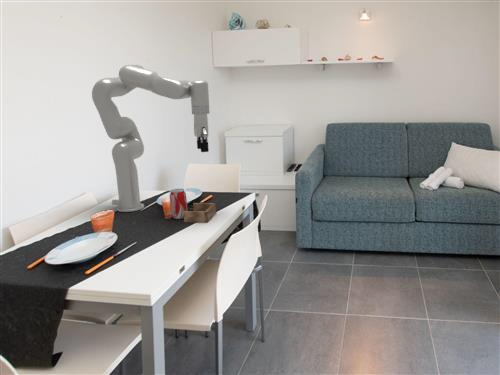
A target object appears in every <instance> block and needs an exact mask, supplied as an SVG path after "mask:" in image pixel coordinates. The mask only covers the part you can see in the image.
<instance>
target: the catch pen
mask: <svg viewBox="0 0 500 375" xmlns="http://www.w3.org/2000/svg"><path fill="white" fill-rule="evenodd" d="M192 205H193V208H192V209H193V210H190V211H189V210H187V211H184V218H183V220H184V221H183V222H184V223H198V224H199V223H209V221H210V220H211V219H212V218H213V217H214V216H216V214H217V203H216V202H215V203H213V202H209V203H207V202H193V204H192Z"/></svg>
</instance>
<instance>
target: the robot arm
mask: <svg viewBox="0 0 500 375" xmlns="http://www.w3.org/2000/svg"><path fill="white" fill-rule="evenodd" d="M118 71H119V72H118V76H117V77H103V78H101V79H99V80H97V81H96V82H95V84H94V85H93V86H92V91H91V97H92V101H93V105H94V106H95V108H96V110H97V112H98V115H99V118H100V119H101V122H102V125H103V128H104V129H105V132H106V134H107V136H108V138H110V139H111V140H120V139H121V141H119V142H117V143H115V144H114V145H113V147H112V149H111V156H112V160H113V164H114V169H115V175H116V176H115V177H116V184H117V195H118V199H112V200H111V204H112V206H113V205H116V211H118V212H122V213H130V212H137V211H140V210H143V209H144V208H145V204H144V203H141V194H140V185H139V174H138V168H137V164H136V163H135V161H134V160H137V159H139V158H141V157H142V156H143V154H144V153H145V152H144V151H145V145H144V142H143V140H142V138H141V135H140V132H139V130H138V127H137V125H136V124H135V122H134V120H133V119H132V118H130V117H128V116H121V114H120V112H119V109H118V107H117V105H116V103H115V102H114V101H113V100H112V98H117V97H123V96H125V95H127V94H129V93H130V92H132V91H133V90H135V89H136V88H139V89H142V90H145V91H149V92H151V93H153V94H154V95H157V96H161V97H164V98H168V99H172V100H184V99H190V102H191V103H190V104H191V115H193V133H194V134H193V135H194V137H196V148H197V150H200V152H201V153H208V152H209V150H210V149H209V140H208V138H209V121H208V120H209V119H208V115H209V114H210V112H211V111H210V94H209V83H208V81H206V80H186V79H185V80H184V79H183V80H174V79H173V80H172V79H168V78H165V77H162V76H161V75H159V73H158V72H156V71H155V70H151V69H147V68H145V67H143V66H142V65H139V64H126V65H123V66H122V67H121V68H120V69H119V70H118Z"/></svg>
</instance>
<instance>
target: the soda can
mask: <svg viewBox="0 0 500 375" xmlns="http://www.w3.org/2000/svg"><path fill="white" fill-rule="evenodd" d="M169 193H170V194H169V205H170V206H169V207H170V214H171V217H172V218H173V219H175V220H181V219H184V211H188V201H187V194H186V193H187V192H186V191H185V189H184V188H173V189H171V190H170V192H169Z"/></svg>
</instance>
